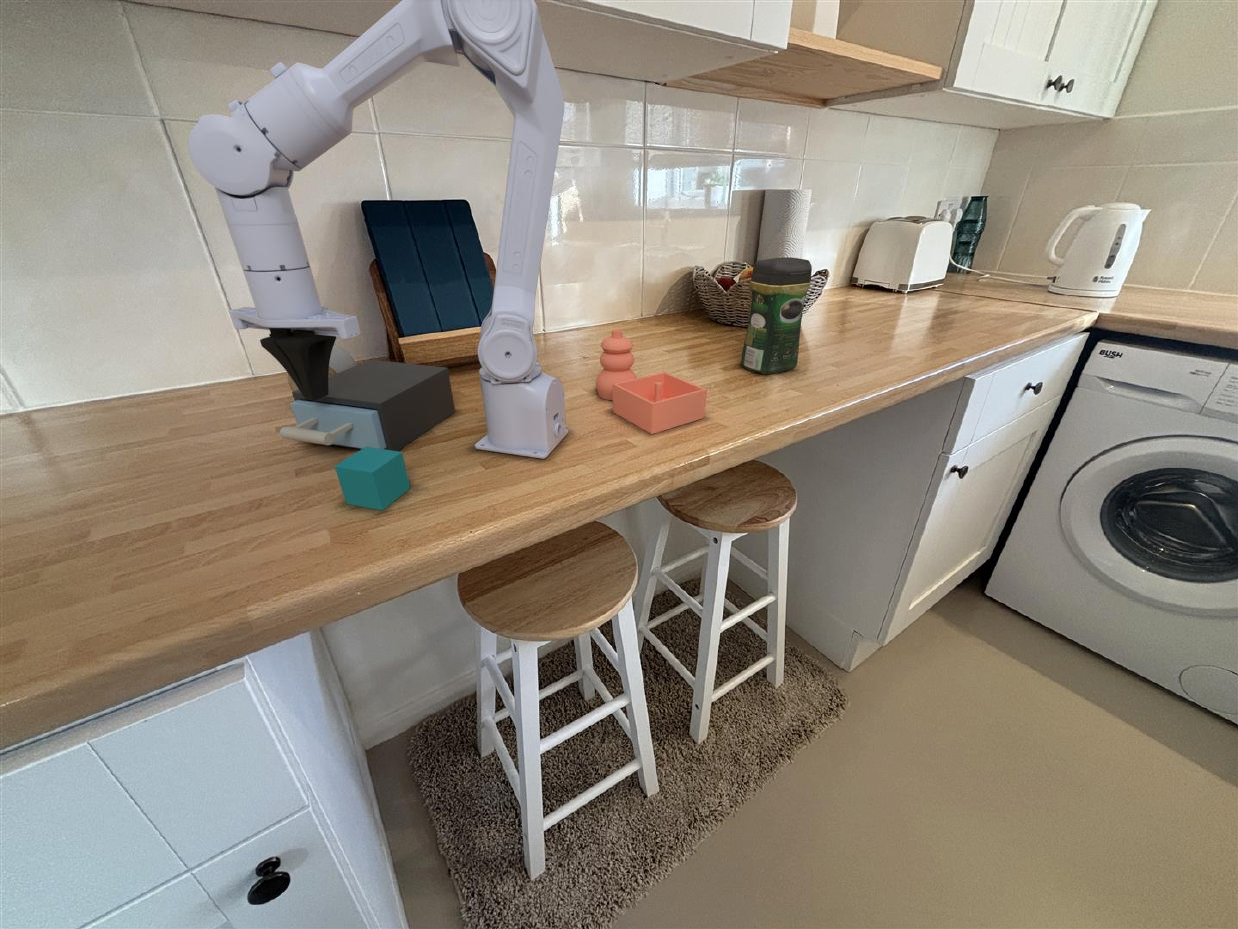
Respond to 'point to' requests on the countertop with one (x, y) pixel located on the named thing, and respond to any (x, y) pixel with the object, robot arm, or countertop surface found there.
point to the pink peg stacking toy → (646, 390)
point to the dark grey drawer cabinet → (394, 397)
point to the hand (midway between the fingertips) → (317, 397)
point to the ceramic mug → (334, 363)
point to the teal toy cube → (373, 478)
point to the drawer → (335, 425)
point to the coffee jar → (776, 314)
